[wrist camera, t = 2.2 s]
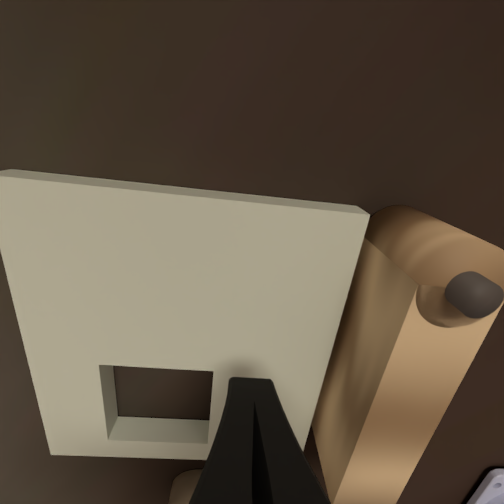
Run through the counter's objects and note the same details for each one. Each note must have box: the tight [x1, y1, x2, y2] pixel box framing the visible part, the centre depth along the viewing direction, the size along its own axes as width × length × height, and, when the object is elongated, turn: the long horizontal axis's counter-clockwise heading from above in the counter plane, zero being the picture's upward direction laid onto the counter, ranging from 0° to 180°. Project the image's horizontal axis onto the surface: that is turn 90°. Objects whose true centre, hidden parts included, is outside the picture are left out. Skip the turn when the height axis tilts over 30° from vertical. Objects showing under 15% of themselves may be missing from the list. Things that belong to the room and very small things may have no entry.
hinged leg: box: [311, 205, 504, 504], centre depth 11 cm, size 11×2×5 cm, turn 173°
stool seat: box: [0, 169, 370, 460], centre depth 12 cm, size 13×12×1 cm
